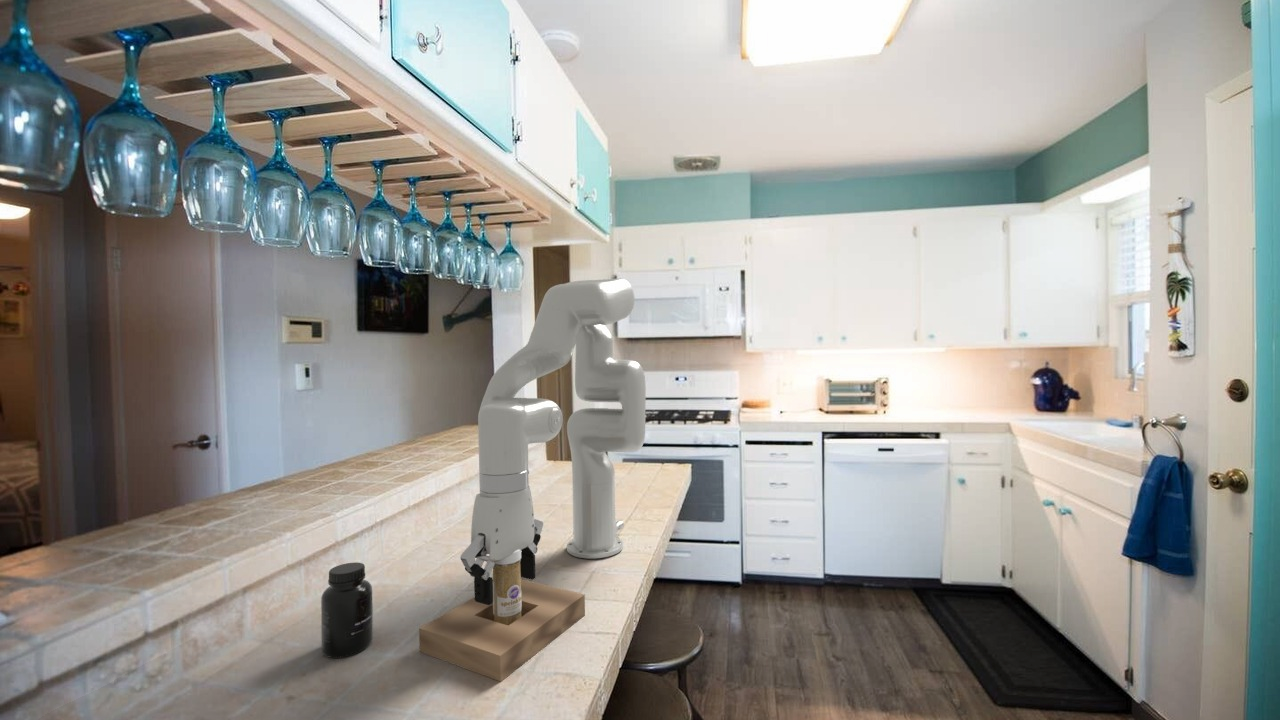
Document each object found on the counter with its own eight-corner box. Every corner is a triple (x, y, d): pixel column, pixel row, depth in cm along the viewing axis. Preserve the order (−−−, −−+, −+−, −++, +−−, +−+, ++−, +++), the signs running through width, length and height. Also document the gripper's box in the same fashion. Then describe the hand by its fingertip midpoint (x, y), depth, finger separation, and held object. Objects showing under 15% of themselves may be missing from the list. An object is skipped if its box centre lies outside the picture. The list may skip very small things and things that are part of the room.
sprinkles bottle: (508, 642, 80) (506, 554, 80) (486, 634, 82) (485, 549, 82) (528, 628, 84) (527, 544, 84) (507, 621, 86) (505, 540, 86)
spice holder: (512, 595, 96) (511, 576, 96) (585, 615, 88) (584, 594, 88) (419, 651, 78) (419, 628, 78) (500, 681, 70) (500, 655, 70)
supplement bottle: (368, 654, 77) (366, 574, 77) (315, 663, 75) (313, 580, 75) (377, 631, 84) (375, 556, 84) (329, 638, 82) (327, 562, 82)
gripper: (522, 468, 92) (524, 565, 92) (443, 492, 77) (446, 608, 77) (556, 472, 89) (558, 573, 89) (481, 498, 73) (483, 619, 74)
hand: (506, 589), depth 83 cm, fingers open, 9 cm apart
